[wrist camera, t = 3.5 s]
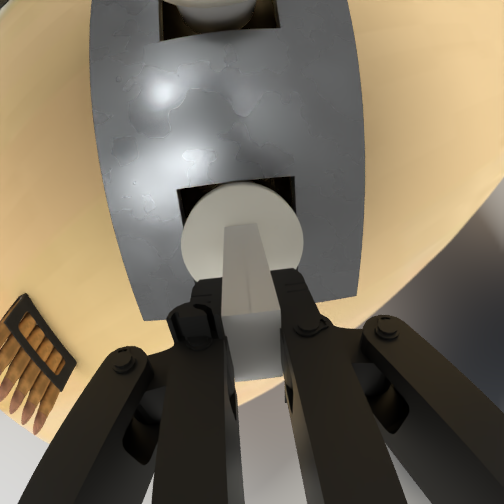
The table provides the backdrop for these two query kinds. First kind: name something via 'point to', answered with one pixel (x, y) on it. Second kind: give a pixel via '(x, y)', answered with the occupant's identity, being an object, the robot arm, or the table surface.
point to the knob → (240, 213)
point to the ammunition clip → (32, 361)
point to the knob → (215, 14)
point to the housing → (228, 134)
